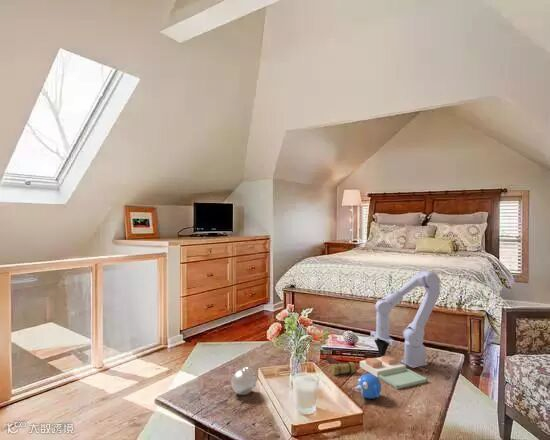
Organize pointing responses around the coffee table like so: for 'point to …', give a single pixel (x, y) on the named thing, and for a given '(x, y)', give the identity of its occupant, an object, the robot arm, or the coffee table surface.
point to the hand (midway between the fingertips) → (382, 355)
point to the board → (383, 368)
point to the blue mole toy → (368, 386)
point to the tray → (402, 378)
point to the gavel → (340, 366)
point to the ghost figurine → (243, 381)
